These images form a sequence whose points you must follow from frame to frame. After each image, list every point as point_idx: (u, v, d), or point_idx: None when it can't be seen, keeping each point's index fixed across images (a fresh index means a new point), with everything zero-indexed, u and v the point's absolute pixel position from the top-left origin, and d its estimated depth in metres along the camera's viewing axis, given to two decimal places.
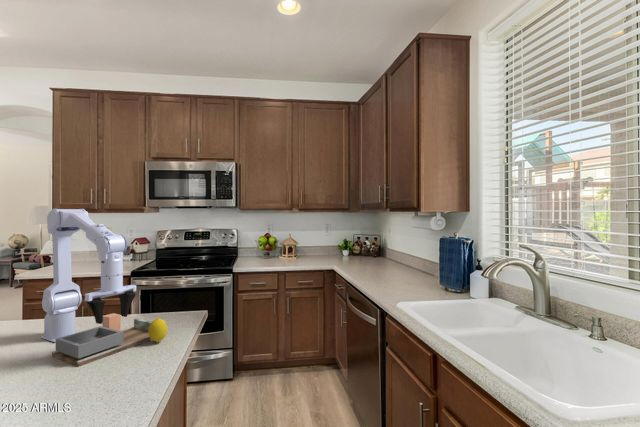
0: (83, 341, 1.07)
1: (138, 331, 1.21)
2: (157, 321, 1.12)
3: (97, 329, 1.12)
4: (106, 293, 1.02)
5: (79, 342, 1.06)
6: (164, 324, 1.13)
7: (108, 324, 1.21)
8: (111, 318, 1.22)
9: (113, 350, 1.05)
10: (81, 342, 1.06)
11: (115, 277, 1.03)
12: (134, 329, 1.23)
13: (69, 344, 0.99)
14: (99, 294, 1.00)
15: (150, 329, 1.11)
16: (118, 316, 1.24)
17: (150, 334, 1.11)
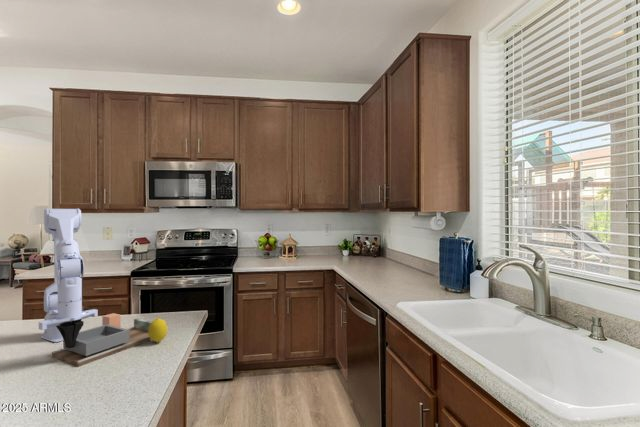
0: (90, 339, 1.09)
1: (138, 331, 1.21)
2: (157, 321, 1.12)
3: (103, 327, 1.14)
4: (62, 320, 0.97)
5: (86, 340, 1.08)
6: (164, 324, 1.13)
7: (108, 324, 1.21)
8: (111, 318, 1.22)
9: (113, 350, 1.05)
10: (88, 340, 1.08)
11: (72, 303, 0.99)
12: (134, 329, 1.23)
13: (77, 342, 1.01)
14: (54, 322, 0.96)
15: (150, 329, 1.11)
16: (118, 316, 1.24)
17: (150, 334, 1.11)
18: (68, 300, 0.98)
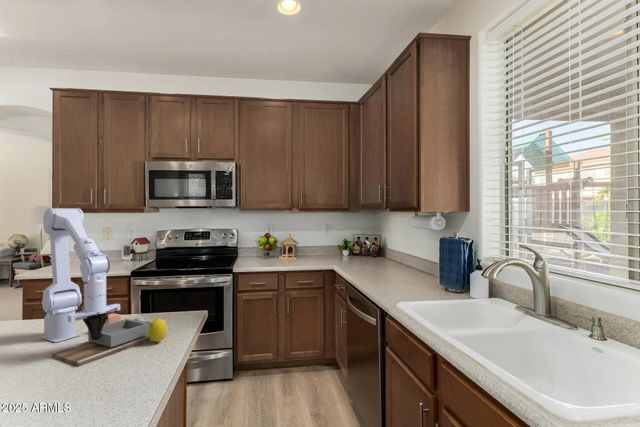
0: (112, 332, 1.15)
1: None
2: (157, 321, 1.12)
3: (124, 321, 1.20)
4: (89, 314, 1.03)
5: (109, 333, 1.14)
6: (164, 324, 1.13)
7: None
8: (111, 318, 1.22)
9: (113, 350, 1.05)
10: (111, 333, 1.14)
11: (98, 298, 1.05)
12: None
13: (102, 334, 1.07)
14: (82, 315, 1.02)
15: (150, 329, 1.11)
16: (118, 316, 1.24)
17: (150, 334, 1.11)
18: (98, 294, 1.05)
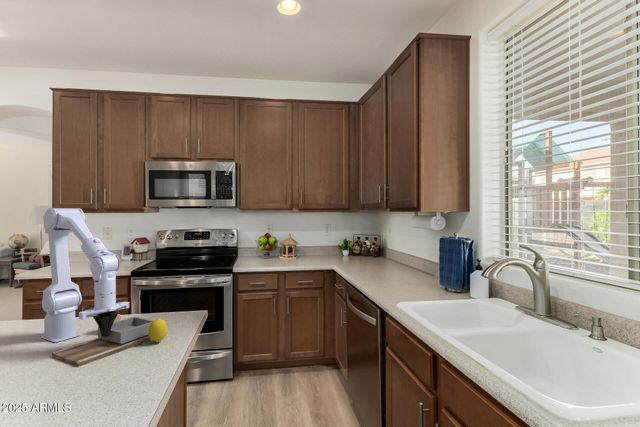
0: (121, 329, 1.18)
1: None
2: (157, 321, 1.12)
3: (132, 319, 1.23)
4: (99, 311, 1.06)
5: None
6: (164, 324, 1.13)
7: None
8: None
9: (113, 350, 1.05)
10: (120, 330, 1.17)
11: (108, 295, 1.07)
12: None
13: (111, 331, 1.10)
14: (93, 312, 1.05)
15: (150, 329, 1.11)
16: (118, 316, 1.24)
17: (150, 334, 1.11)
18: (109, 292, 1.08)
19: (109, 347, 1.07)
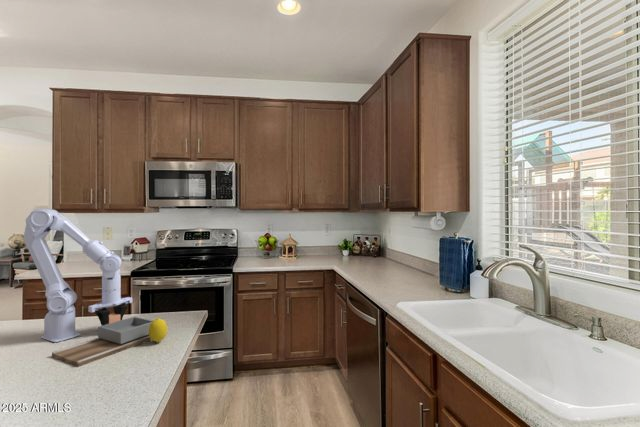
0: (121, 329, 1.18)
1: None
2: (157, 321, 1.12)
3: (132, 319, 1.23)
4: (106, 305, 1.20)
5: (118, 330, 1.17)
6: (164, 324, 1.13)
7: None
8: (111, 318, 1.22)
9: (113, 350, 1.05)
10: (120, 330, 1.17)
11: (114, 291, 1.22)
12: None
13: (111, 331, 1.10)
14: (100, 306, 1.19)
15: (150, 329, 1.11)
16: (118, 316, 1.24)
17: (150, 334, 1.11)
18: (120, 287, 1.24)
19: (109, 347, 1.07)
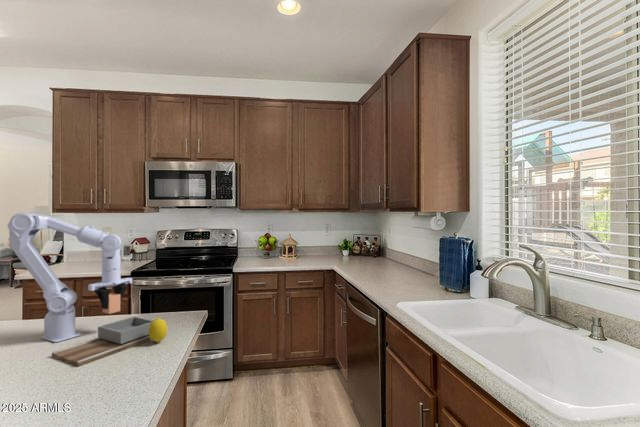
0: (121, 329, 1.18)
1: None
2: (157, 321, 1.12)
3: (132, 319, 1.23)
4: (106, 284, 1.20)
5: (118, 330, 1.17)
6: (164, 324, 1.13)
7: (108, 303, 1.21)
8: (111, 297, 1.22)
9: (113, 350, 1.05)
10: (120, 330, 1.17)
11: (114, 271, 1.22)
12: None
13: (111, 331, 1.10)
14: (100, 285, 1.19)
15: (150, 329, 1.11)
16: (118, 296, 1.24)
17: (150, 334, 1.11)
18: (120, 266, 1.24)
19: (109, 347, 1.07)
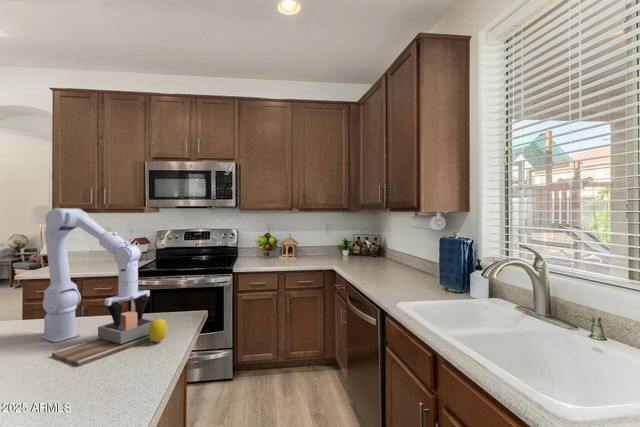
0: None
1: None
2: (157, 321, 1.12)
3: None
4: (123, 298, 1.12)
5: (118, 330, 1.17)
6: (164, 324, 1.13)
7: (125, 323, 1.14)
8: (128, 316, 1.14)
9: (113, 350, 1.05)
10: None
11: (131, 283, 1.14)
12: None
13: (111, 331, 1.10)
14: (117, 299, 1.11)
15: (150, 329, 1.11)
16: (134, 314, 1.16)
17: (150, 334, 1.11)
18: (135, 280, 1.15)
19: (109, 347, 1.07)
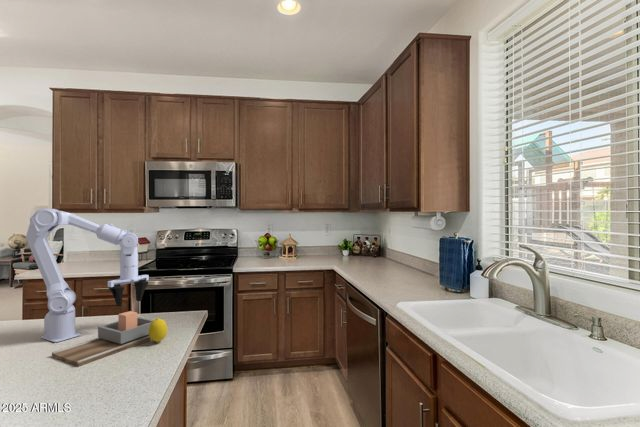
0: None
1: None
2: (157, 321, 1.12)
3: None
4: (125, 281, 1.23)
5: (118, 330, 1.17)
6: (164, 324, 1.13)
7: (125, 323, 1.14)
8: (128, 316, 1.14)
9: (113, 350, 1.05)
10: None
11: (132, 268, 1.25)
12: None
13: (111, 331, 1.10)
14: (119, 281, 1.22)
15: (150, 329, 1.11)
16: (134, 314, 1.16)
17: (150, 334, 1.11)
18: (137, 264, 1.27)
19: (109, 347, 1.07)
